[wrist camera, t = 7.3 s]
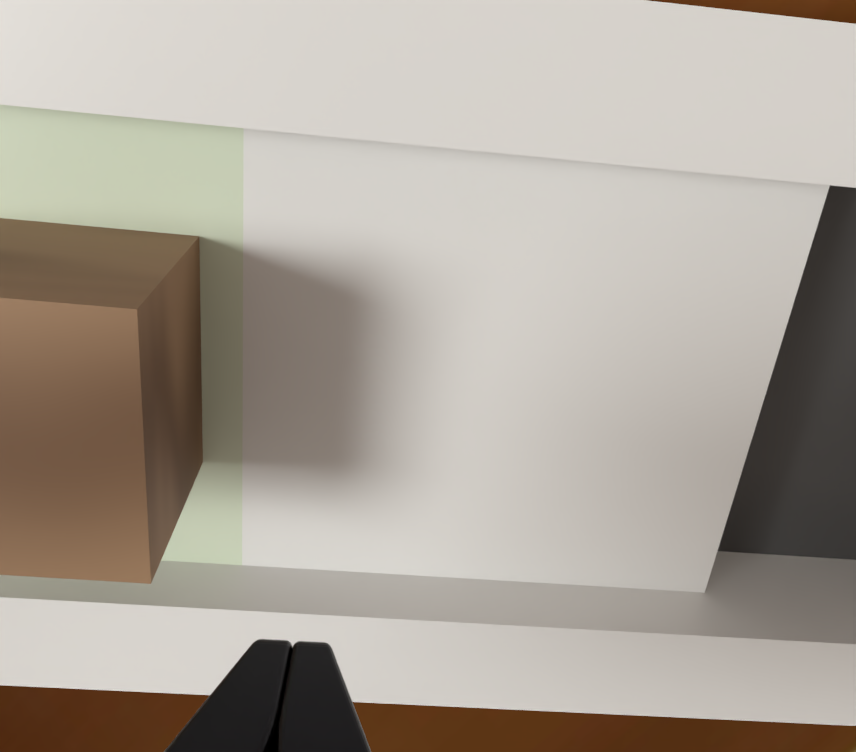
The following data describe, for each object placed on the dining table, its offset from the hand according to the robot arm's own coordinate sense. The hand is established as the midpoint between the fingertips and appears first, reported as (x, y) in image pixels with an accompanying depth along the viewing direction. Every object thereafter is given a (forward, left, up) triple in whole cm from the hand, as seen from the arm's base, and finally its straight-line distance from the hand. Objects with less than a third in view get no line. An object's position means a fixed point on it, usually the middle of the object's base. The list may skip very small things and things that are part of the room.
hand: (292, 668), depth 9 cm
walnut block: (0, +5, -8) cm, 10 cm away
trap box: (0, +1, -10) cm, 10 cm away
